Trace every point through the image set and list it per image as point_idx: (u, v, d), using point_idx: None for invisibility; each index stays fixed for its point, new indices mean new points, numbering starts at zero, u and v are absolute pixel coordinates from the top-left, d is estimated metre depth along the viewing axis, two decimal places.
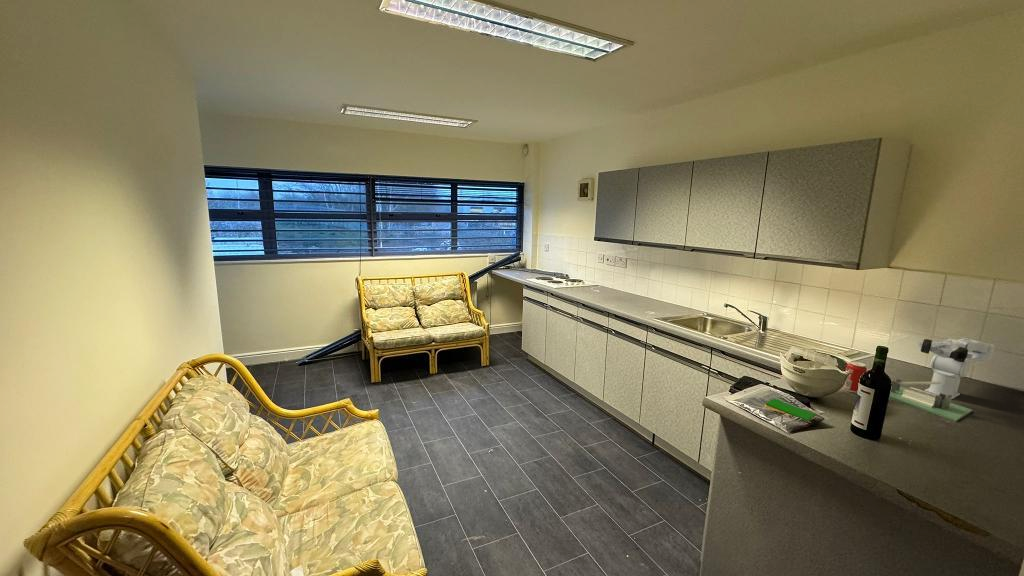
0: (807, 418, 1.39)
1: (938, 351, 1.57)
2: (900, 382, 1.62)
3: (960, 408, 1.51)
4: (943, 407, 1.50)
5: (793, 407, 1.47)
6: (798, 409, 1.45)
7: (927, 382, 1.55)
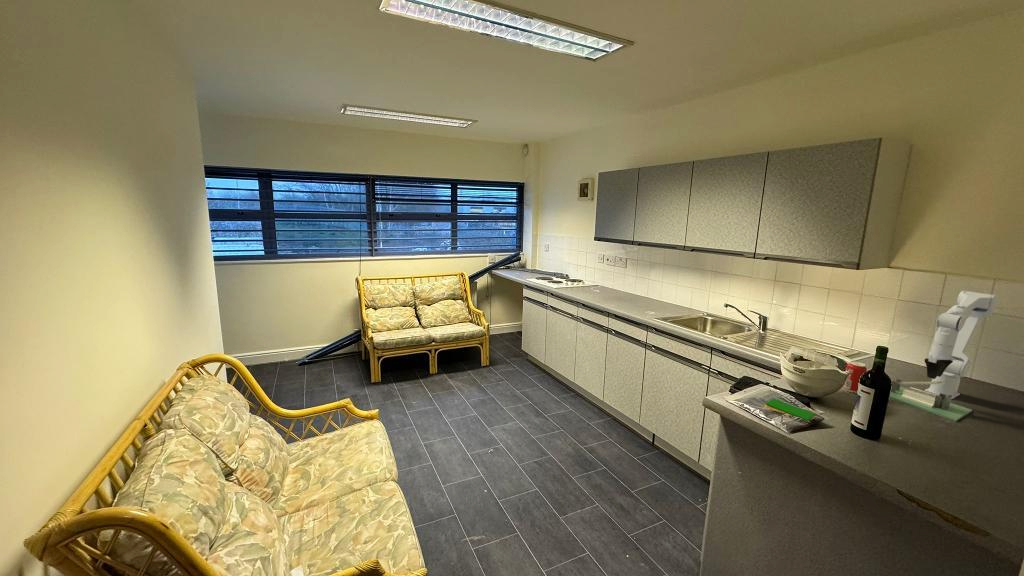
0: (807, 418, 1.39)
1: None
2: (900, 382, 1.62)
3: (960, 408, 1.51)
4: (943, 407, 1.50)
5: (793, 407, 1.47)
6: (798, 409, 1.45)
7: (927, 382, 1.55)
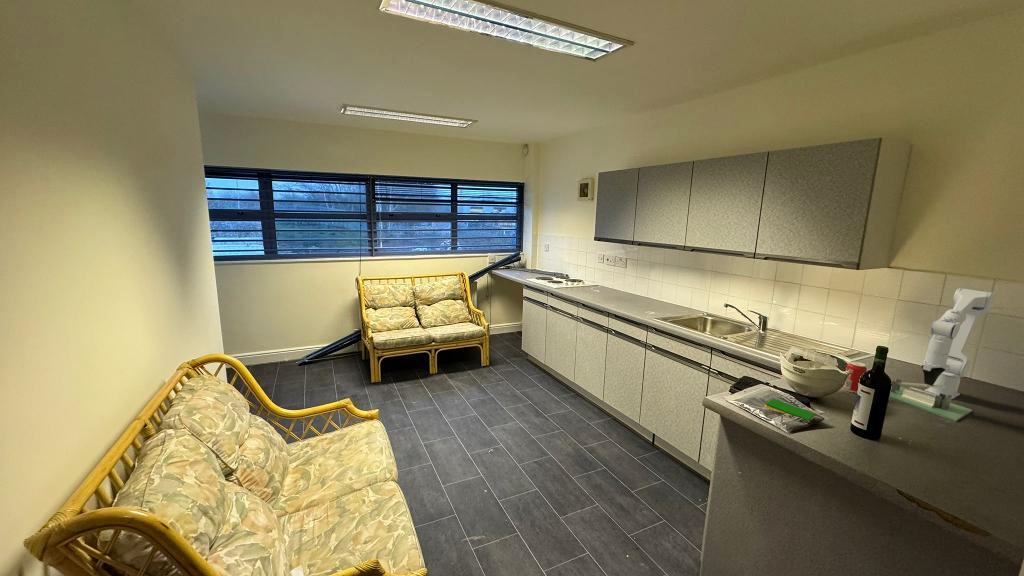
0: (808, 418, 1.40)
1: None
2: (900, 382, 1.62)
3: (960, 408, 1.51)
4: (943, 407, 1.50)
5: (793, 407, 1.47)
6: (798, 409, 1.45)
7: (928, 385, 1.55)
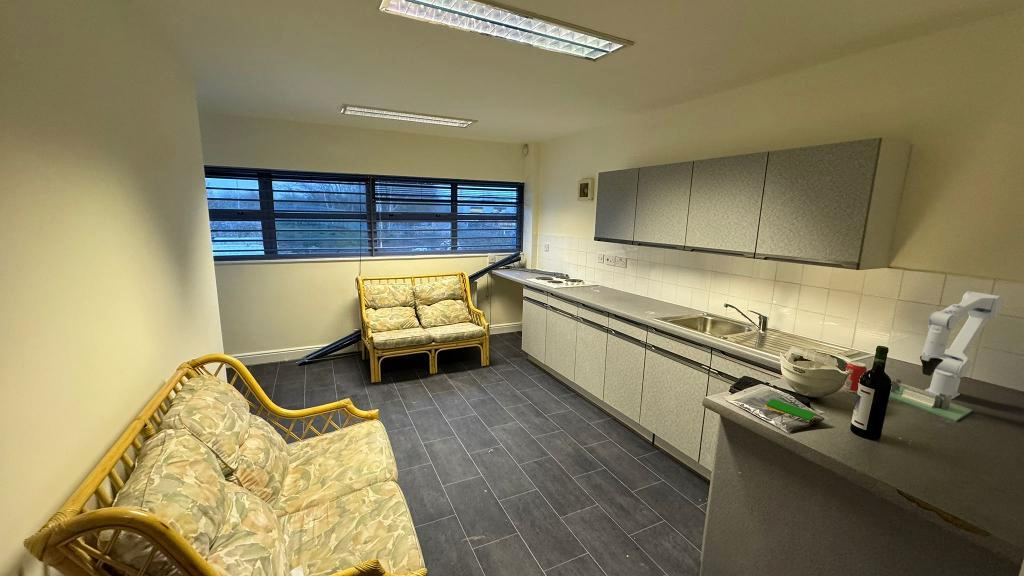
0: (809, 418, 1.40)
1: None
2: (900, 383, 1.62)
3: (960, 408, 1.51)
4: (943, 407, 1.50)
5: (792, 407, 1.47)
6: (798, 409, 1.46)
7: (928, 393, 1.55)
